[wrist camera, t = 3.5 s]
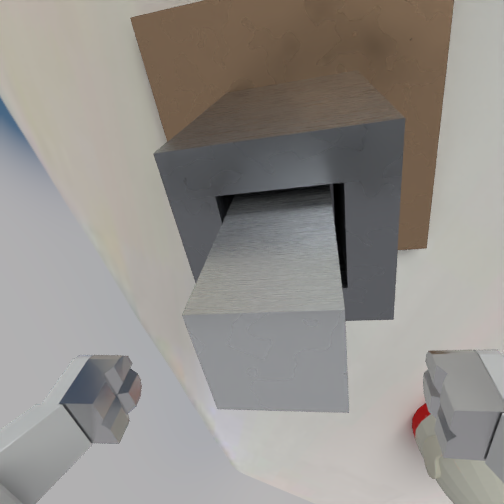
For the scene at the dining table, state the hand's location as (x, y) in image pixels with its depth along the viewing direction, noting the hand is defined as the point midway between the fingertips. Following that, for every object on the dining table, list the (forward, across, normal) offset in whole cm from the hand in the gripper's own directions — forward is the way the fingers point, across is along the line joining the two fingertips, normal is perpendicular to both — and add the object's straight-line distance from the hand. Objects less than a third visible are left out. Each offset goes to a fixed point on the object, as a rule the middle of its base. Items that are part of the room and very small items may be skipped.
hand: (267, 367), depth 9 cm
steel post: (+20, 0, 0) cm, 20 cm away
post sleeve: (+22, 0, 0) cm, 22 cm away
